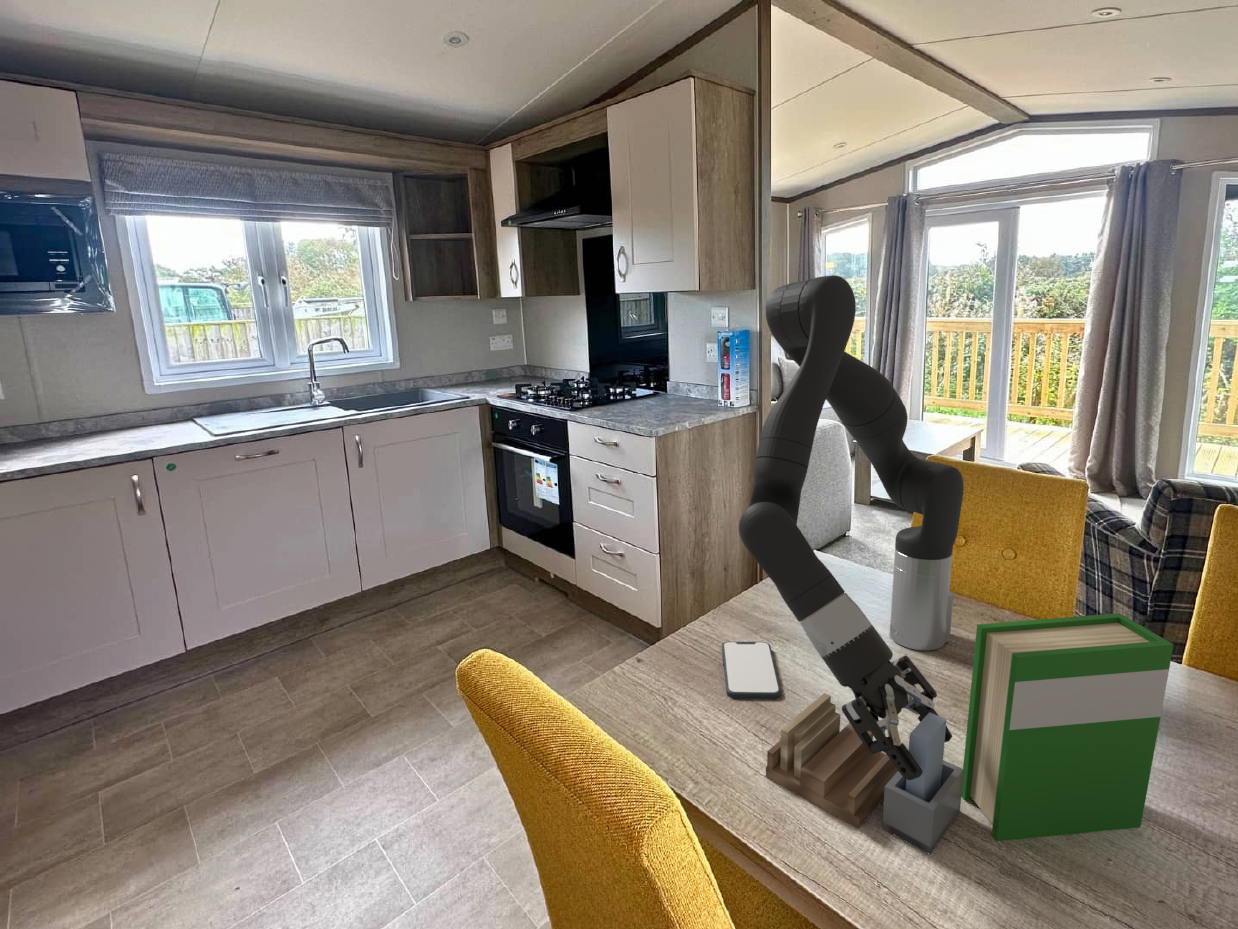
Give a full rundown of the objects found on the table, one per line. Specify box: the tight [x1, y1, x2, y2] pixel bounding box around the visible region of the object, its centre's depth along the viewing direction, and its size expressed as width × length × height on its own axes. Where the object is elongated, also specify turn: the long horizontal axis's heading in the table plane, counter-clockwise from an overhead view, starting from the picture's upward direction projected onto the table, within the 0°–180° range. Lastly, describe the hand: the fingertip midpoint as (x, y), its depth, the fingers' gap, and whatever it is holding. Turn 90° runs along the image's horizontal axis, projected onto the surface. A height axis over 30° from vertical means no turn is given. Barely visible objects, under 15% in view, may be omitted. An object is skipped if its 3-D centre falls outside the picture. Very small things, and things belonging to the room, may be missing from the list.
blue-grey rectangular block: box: [906, 712, 948, 803], centre depth 80 cm, size 2×6×12 cm, turn 134°
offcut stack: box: [780, 692, 841, 778], centre depth 91 cm, size 3×11×6 cm, turn 134°
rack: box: [765, 722, 898, 829], centre depth 89 cm, size 13×13×4 cm
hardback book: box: [961, 612, 1174, 843], centre depth 79 cm, size 18×7×24 cm, turn 94°
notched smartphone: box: [721, 641, 782, 700], centre depth 114 cm, size 9×2×16 cm
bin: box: [881, 759, 964, 855], centre depth 81 cm, size 6×9×6 cm, turn 134°
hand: (931, 758), depth 79 cm, fingers open, 8 cm apart
